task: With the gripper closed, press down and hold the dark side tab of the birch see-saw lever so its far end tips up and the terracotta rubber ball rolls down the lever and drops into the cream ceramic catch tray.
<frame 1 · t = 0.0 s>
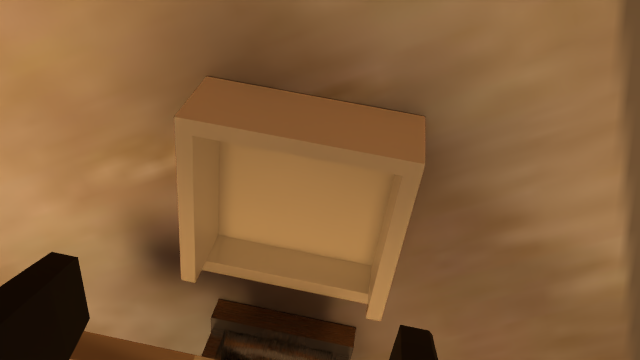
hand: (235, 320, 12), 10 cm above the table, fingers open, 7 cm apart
pivot bracket: (284, 332, 28), on the table
tray: (303, 185, 22), on the table
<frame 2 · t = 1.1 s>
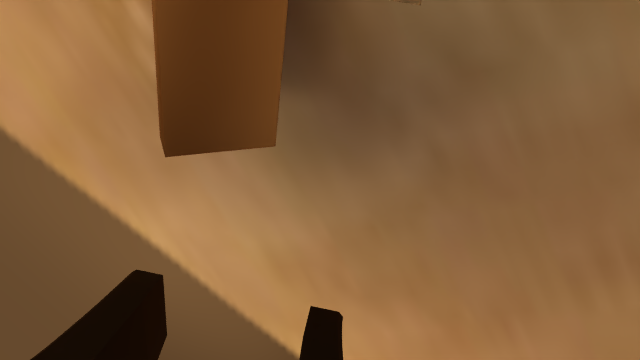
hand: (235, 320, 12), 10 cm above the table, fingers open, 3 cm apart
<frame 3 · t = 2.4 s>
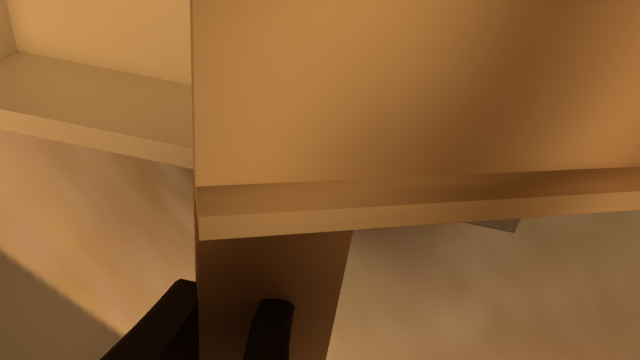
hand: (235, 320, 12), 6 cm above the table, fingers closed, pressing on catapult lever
catapult lever: (511, 208, 11), point 4 cm above the table, hinge at -23.7°, touching ball, gripper
pivot bracket: (508, 9, 13), on the table
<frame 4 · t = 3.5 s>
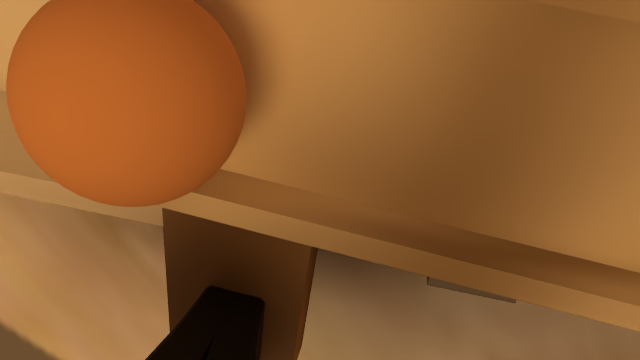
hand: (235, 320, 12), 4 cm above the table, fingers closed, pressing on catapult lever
ball: (134, 96, 7), point 5 cm above the table, tilted 37°, touching catapult lever
catapult lever: (483, 278, 9), point 4 cm above the table, hinge at 4.2°, touching ball, gripper
pivot bracket: (505, 37, 11), on the table
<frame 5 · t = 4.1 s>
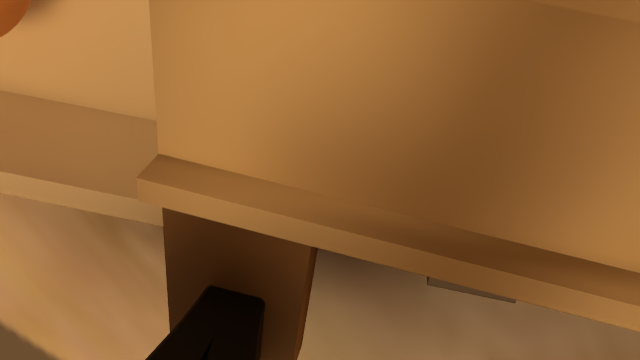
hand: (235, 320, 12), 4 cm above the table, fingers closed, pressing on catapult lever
catapult lever: (483, 278, 9), point 4 cm above the table, hinge at 4.3°, touching gripper
pivot bracket: (505, 37, 11), on the table
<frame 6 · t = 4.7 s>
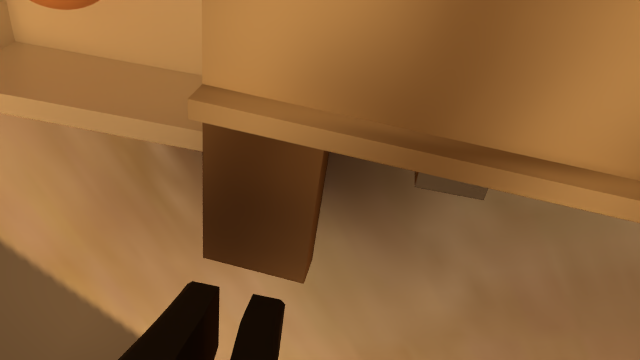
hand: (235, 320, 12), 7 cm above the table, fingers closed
catapult lever: (457, 173, 11), point 4 cm above the table, hinge at 4.3°
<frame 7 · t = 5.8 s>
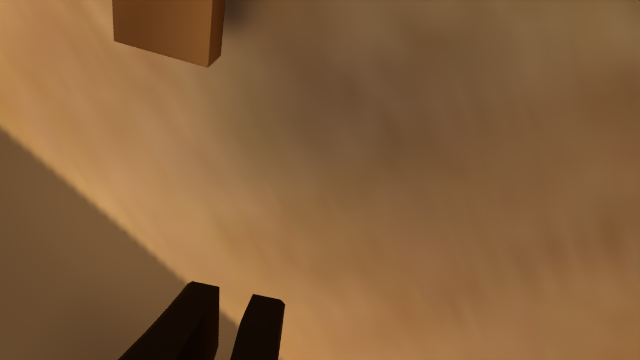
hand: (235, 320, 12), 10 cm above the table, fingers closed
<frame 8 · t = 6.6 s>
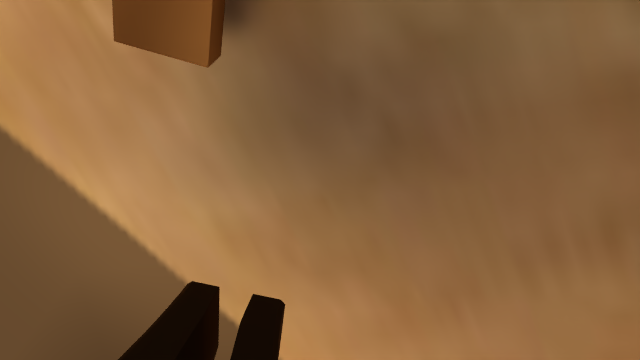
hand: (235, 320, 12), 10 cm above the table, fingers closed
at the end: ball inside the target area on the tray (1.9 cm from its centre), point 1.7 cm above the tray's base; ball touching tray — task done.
